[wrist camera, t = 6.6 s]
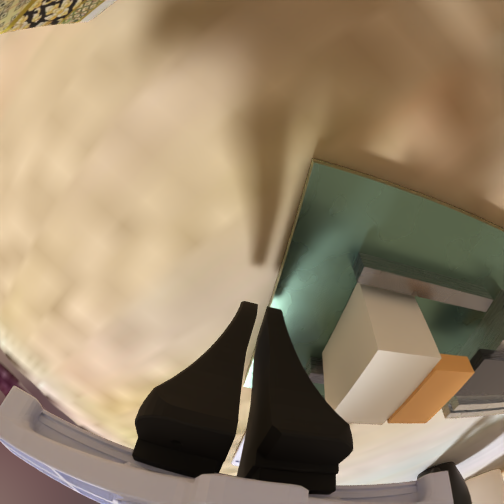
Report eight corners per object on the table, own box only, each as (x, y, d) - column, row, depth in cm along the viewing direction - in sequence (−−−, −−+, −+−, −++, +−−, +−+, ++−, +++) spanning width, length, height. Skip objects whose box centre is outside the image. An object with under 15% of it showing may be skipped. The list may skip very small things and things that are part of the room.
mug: (466, 442, 23) (481, 508, 15) (461, 467, 28) (470, 518, 20) (402, 466, 26) (409, 534, 18) (410, 485, 31) (415, 537, 22)
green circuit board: (516, 396, 19) (529, 429, 15) (245, 376, 19) (235, 434, 15) (597, 282, 12) (623, 313, 8) (312, 158, 12) (324, 190, 8)
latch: (403, 364, 16) (420, 428, 12) (322, 352, 16) (326, 424, 12) (447, 300, 14) (481, 364, 10) (358, 279, 13) (379, 354, 9)
